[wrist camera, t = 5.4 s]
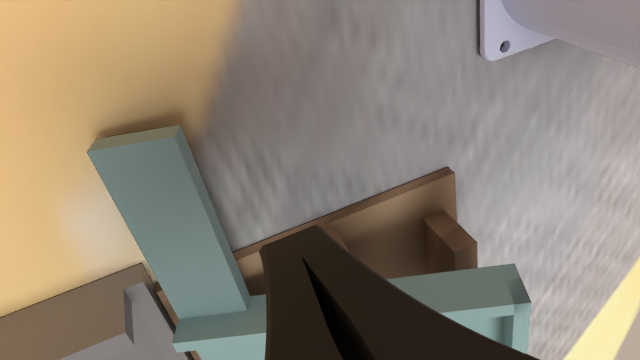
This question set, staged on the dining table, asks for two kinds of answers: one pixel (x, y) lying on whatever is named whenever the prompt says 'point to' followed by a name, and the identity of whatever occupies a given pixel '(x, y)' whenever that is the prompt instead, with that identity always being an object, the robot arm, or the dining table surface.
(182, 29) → the dining table surface
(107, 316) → the tray
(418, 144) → the dining table surface
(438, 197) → the base
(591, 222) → the dining table surface
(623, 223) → the dining table surface
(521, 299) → the lever
